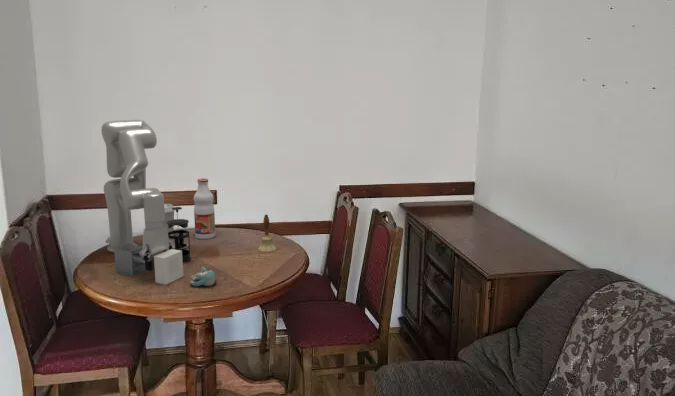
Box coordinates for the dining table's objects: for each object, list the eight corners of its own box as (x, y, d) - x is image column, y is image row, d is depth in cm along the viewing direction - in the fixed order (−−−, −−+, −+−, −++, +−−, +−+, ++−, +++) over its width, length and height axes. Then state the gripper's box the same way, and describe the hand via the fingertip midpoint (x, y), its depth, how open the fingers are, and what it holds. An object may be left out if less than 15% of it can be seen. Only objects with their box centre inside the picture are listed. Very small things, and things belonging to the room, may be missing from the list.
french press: (189, 264, 252) (186, 210, 247) (166, 264, 252) (162, 210, 246) (193, 255, 264) (190, 203, 259) (171, 255, 263) (168, 204, 258)
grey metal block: (116, 272, 242) (114, 248, 240) (130, 266, 249) (129, 243, 247) (133, 276, 238) (131, 252, 236) (147, 270, 245) (146, 246, 243)
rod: (129, 265, 240) (128, 253, 239) (138, 262, 244) (137, 249, 243) (166, 273, 232) (165, 260, 230) (175, 269, 236) (174, 256, 235)
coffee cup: (173, 239, 286) (171, 208, 283) (153, 239, 287) (151, 208, 283) (179, 233, 296) (177, 203, 292) (159, 233, 296) (157, 203, 292)
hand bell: (254, 250, 270) (253, 216, 266) (263, 245, 277) (262, 211, 274) (271, 253, 267) (270, 218, 263) (279, 247, 274) (279, 213, 271)
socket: (155, 282, 232) (153, 256, 229) (173, 274, 240) (171, 249, 238) (165, 284, 230) (164, 258, 227) (183, 276, 238) (181, 250, 236)
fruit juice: (218, 237, 290) (216, 179, 284) (200, 240, 284) (197, 182, 278) (210, 232, 297) (207, 176, 291) (192, 236, 292) (189, 178, 285)
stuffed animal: (203, 262, 238) (222, 263, 230) (206, 280, 239) (225, 282, 231) (180, 269, 231) (198, 271, 222) (183, 287, 231) (201, 290, 223)
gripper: (163, 217, 242) (166, 258, 246) (131, 228, 227) (134, 272, 231) (178, 220, 238) (180, 261, 242) (146, 231, 223) (149, 275, 227)
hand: (158, 266), depth 236 cm, fingers open, 9 cm apart
